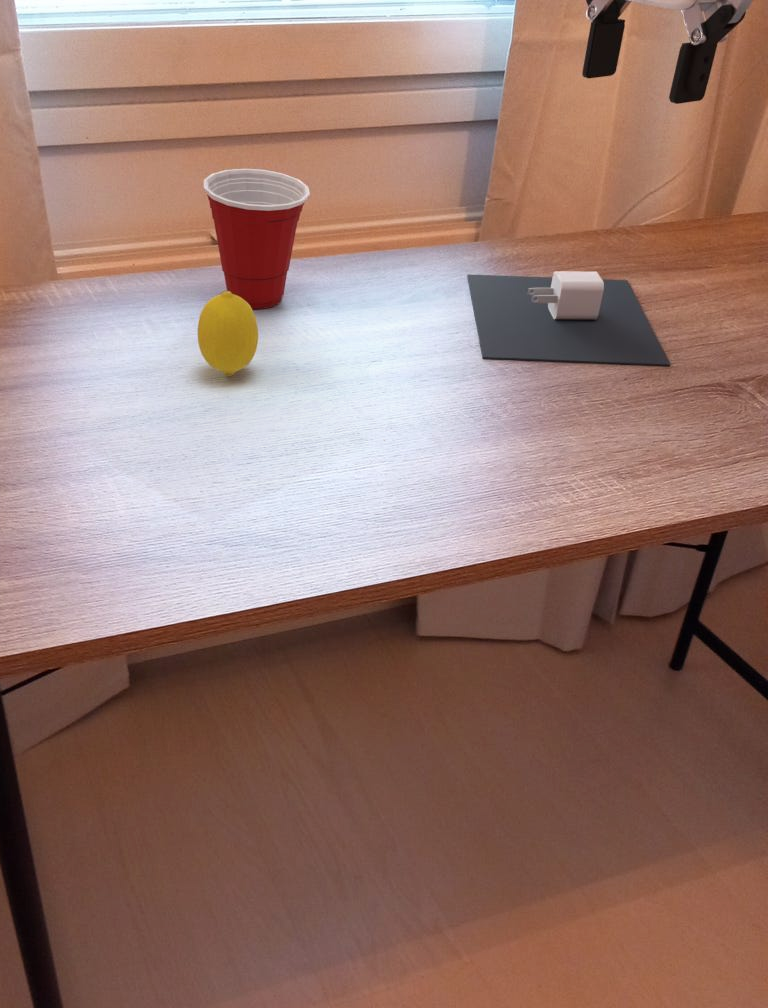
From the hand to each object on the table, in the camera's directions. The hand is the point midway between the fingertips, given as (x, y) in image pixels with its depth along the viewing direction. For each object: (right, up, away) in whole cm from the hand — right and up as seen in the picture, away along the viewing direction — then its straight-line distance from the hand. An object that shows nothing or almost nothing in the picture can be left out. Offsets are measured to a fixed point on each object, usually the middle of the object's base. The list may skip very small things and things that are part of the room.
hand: (640, 88), depth 82 cm
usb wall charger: (0, -10, +26) cm, 28 cm away
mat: (0, -10, +26) cm, 28 cm away
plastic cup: (-32, -8, +28) cm, 43 cm away
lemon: (-34, -19, +14) cm, 42 cm away
